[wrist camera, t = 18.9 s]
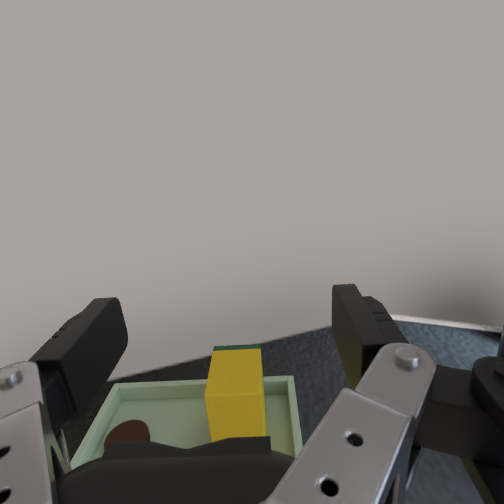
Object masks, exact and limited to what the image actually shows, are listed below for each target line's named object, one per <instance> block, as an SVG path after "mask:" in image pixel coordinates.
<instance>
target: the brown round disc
mask: <svg viewBox="0 0 504 504" xmlns="http://www.w3.org/2000/svg"><path fill="white" fill-rule="evenodd" d="M121 441H150V433H149V429H148V426H147V424H146V423H145V422H143V421H141V420H136V419H134V420H128V421H125V422H122V423H121V424H119V425H117V426H116V427H114V428H113V429H112V430H111V431H110V432H109V434H108V435H107V437H106V439H105V441H104V451H105V449H106V447H107V445H108V443H109V442H121Z"/></svg>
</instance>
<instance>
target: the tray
mask: <svg viewBox="0 0 504 504" xmlns="http://www.w3.org/2000/svg"><path fill="white" fill-rule="evenodd" d="M263 381H264V394H265V406H266V436H270V440H271V450H274V451H278V452H281V453H284V454H287V455H289V456H291V457H293V458H295V459H296V457H297V456H298V454H299V453H300V451H301V450H302V448H303V445H302V438H301V430H300V423H299V415H298V408H297V400H296V393H295V385H294V378H293V376H287V377H286V376H271V377H263ZM206 384H207V379H205V380H182V381H160V382H138V383H116V384H114V386H113V387H112V389H111V391H110V393H109V395H108V396H107V398H106V400H105V402H104V403H103V405H102V407H101V409H100V411H99V412H98V414H97V416H96V418H95V419H94V421H93V423H92V425H91V427H90V428H89V430H88V432H87V434H86V435H85V437H84V439H83V441H82V443H81V444H80V446H79V448H78V450H77V451H76V453H75V455H74V457H73V459H72V460H71V462H70V465H71V469H72V470H73V469H74V468H76V467H78V466H80V465H82V464H84V463H86V462H89V461H91V460H94V459H97V458H100V457H102V455H103V453H104V441H105V439H106V437H107V435H108V434H109V432H110V431H111V430H112V429H113V428H114V427H116V426H117V425H119V424H121V423H122V422H125V421H128V420H134V419H136V420H141V421H143V422H145V423H146V424H147V426H148V429H149V433H150V441H152V442H157V443H161V444H165V445H170V446H174V447H179V448H184V449H188V448H193V447H196V446H200V445H204V444H207V443H211V436H210V430H209V424H208V418H207V412H206V406H205V400H204V393H205V389H206Z"/></svg>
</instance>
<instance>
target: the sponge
mask: <svg viewBox="0 0 504 504" xmlns="http://www.w3.org/2000/svg"><path fill="white" fill-rule="evenodd" d="M204 400H205V406H206V412H207V418H208V424H209V430H210V436H211V442H215V441H219V440H222V439H226V438H230V437H255V436H266V406H265V394H264V381H263V369H262V357H261V345H260V344H253V345H233V346H215V347H214V349H213V354H212V359H211V364H210V369H209V374H208V379H207V384H206V389H205V393H204Z"/></svg>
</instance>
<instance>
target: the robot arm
mask: <svg viewBox="0 0 504 504" xmlns="http://www.w3.org/2000/svg"><path fill="white" fill-rule="evenodd" d="M332 331H333V337H334V340H335V343H336V346H337V349H338V352H339V355H340V357H341V360H342V363H343V366H344V369H345V372H346V375H347V378H348V381H349V383H350V386H351V388H349V387H345V388H344V389H343V390H342V391H341V392H340V394H339V395H338V397H337V398H336V400H335V401H334V402H333V404H332V405H331V407H330V408H329V410H328V411H327V413H326V414H325V416H324V417H323V419H322V420H321V422H320V423H319V425H318V426H317V428H316V429H315V431H314V432H313V433H312V435H311V436H310V438H309V439H308V441H307V442H306V444H305V445H304V447H303V448H302V450H301V451H300V453H299V454H298V456H297V457H296V459H295V458H293V457H291V456H289V455H287V454H284V453H281V452H278V451H274V450H271V440H270V436H255V437H230V438H226V439H222V440H219V441H215V442H211V443H207V444H204V445H200V446H196V447H193V448H188V449H184V448H179V447H174V446H170V445H165V444H161V443H157V442H152V441H121V442H109V443H108V445H107V447H106V449H105V451H104V453H103V455H102V457H100V458H97V459H94V460H91V461H89V462H86V463H84V464H82V465H80V466H78V467H76V468H74V469H73V470H72V469H71V465H70V460H69V455H68V450H67V446H66V441H65V436H64V434H63V431H62V427H63V425H64V424H65V422H82V421H83V420H84V418H85V416H86V415H87V413H88V411H89V410H90V408H91V406H92V405H93V403H94V401H95V400H96V398H97V396H98V395H99V393H100V391H101V390H102V388H103V386H104V385H105V383H106V381H107V380H108V378H109V376H110V375H111V373H112V371H113V370H114V368H115V366H116V365H117V363H118V361H119V360H120V358H121V356H122V354H123V353H124V351H125V349H126V347H127V343H128V334H127V328H126V325H125V321H124V317H123V313H122V309H121V305H120V302H119V300H118V299H117V298H115V297H113V298H98V299H94V300H93V301H92V302H91V303H90V304H89V305H88V306H87V307H86V308H85V309H84V310H83V311H82V312H80V313H79V314H77V315H76V316H74V317H73V318H71V319H69V320H68V321H67V322H66V323H65V324H64V325H63V326H62V327H61V328H60V329H59V331H57V332H56V333H55V334H54V335H53V336H52V339H49V340H48V341H47V342H46V343H45V344H44V345H43V346H42V347H41V348H40V349H39V350H38V351H37V352H36V353H35V354H34V355H33V357H32V358H30V359H29V361H23V362H18V363H14V364H11V365H8V366H6V367H3V368H1V369H0V504H405V503H406V500H407V497H408V494H409V491H410V488H411V485H412V482H413V479H414V476H415V472H416V469H417V466H418V463H419V460H420V457H421V454H422V451H423V448H428V449H432V450H436V451H440V452H444V453H448V454H452V455H456V456H459V457H460V458H461V460H462V462H463V464H464V466H465V468H466V470H467V472H468V473H469V475H470V477H471V479H472V481H473V483H474V485H475V487H476V488H477V490H478V492H479V494H480V496H481V498H482V500H483V502H484V503H485V504H504V327H503V331H502V335H501V340H500V344H499V348H498V353H497V357H482V358H479V359H477V360H476V361H475V362H474V364H473V368H472V371H468V370H462V369H456V368H450V367H445V366H441V365H437V364H436V362H435V360H434V358H433V357H432V356H431V355H430V354H429V353H428V352H427V351H425V350H424V349H422V348H420V347H417V346H415V345H411V344H409V343H408V341H407V340H406V338H405V337H404V335H403V334H402V332H401V331H400V329H399V328H398V327H397V325H396V324H395V322H394V321H393V320H392V318H391V316H390V315H389V314H388V312H387V311H386V309H385V308H384V306H383V305H382V303H380V302H379V301H377V300H376V299H374V298H373V297H371V296H366V297H362V296H361V294H360V292H359V291H358V289H357V287H356V286H355V284H341V285H333V288H332Z"/></svg>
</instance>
